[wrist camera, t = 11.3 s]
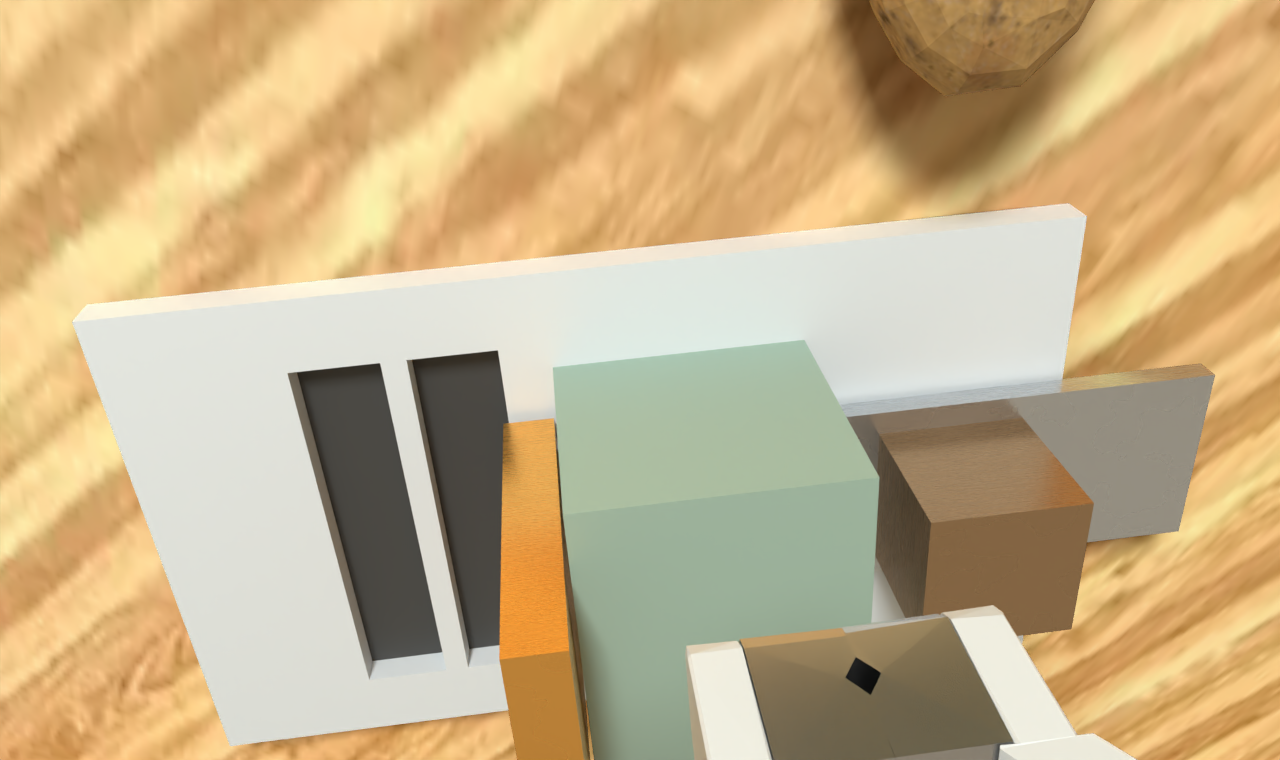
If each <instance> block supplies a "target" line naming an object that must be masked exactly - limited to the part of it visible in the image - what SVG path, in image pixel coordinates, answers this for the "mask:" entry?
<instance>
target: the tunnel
mask: <svg viewBox="0 0 1280 760" xmlns="http://www.w3.org/2000/svg"><path fill="white" fill-rule="evenodd" d="M553 380H554V395H555V409H556V424H557V438H558V452H559V467H560V481H561V496H562V510H563V520H564V528H565V536H566V544H567V551H568V559H569V567H570V575H571V583H572V590H573V598H574V606H575V614H576V622H577V629H578V637H579V645H580V653H581V661H582V668H583V676H584V684H585V692H586V700H587V708H588V715H589V723H590V731H591V739H592V747H593V754H594V760H694V751H693V742H692V734H691V723H690V710H689V697H688V685H687V672H686V659H685V651H686V646H689V645H699V644H709V643H719V642H729V641H738V643H739V639H744V638H753V637H763V636H772V635H781V634H790V633H800V632H809V631H818V630H827V629H836V628H840V627H847V626H854V625H861V624H868V623H871V620H872V602H873V584H874V566H875V549H876V531H877V513H878V495H879V476H878V474H877V472H876V470H875V468H874V466H873V465H872V463H871V461H870V459H869V457H868V456H867V454H866V452H865V450H864V448H863V446H862V445H861V443H860V441H859V439H858V437H857V435H856V434H855V432H854V430H853V428H852V426H851V424H850V423H849V421H848V419H847V417H846V415H845V413H844V412H843V410H842V408H841V406H840V404H839V402H838V401H837V399H836V397H835V395H834V393H833V392H832V390H831V388H830V386H829V384H828V382H827V381H826V379H825V377H824V375H823V373H822V371H821V370H820V368H819V366H818V364H817V362H816V360H815V359H814V357H813V355H812V353H811V351H810V349H809V348H808V346H807V344H806V342H805V340H798V341H789V342H780V343H771V344H762V345H752V346H743V347H734V348H725V349H716V350H707V351H698V352H689V353H679V354H670V355H661V356H652V357H643V358H634V359H625V360H616V361H606V362H597V363H588V364H579V365H570V366H561V367H553Z"/></svg>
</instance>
